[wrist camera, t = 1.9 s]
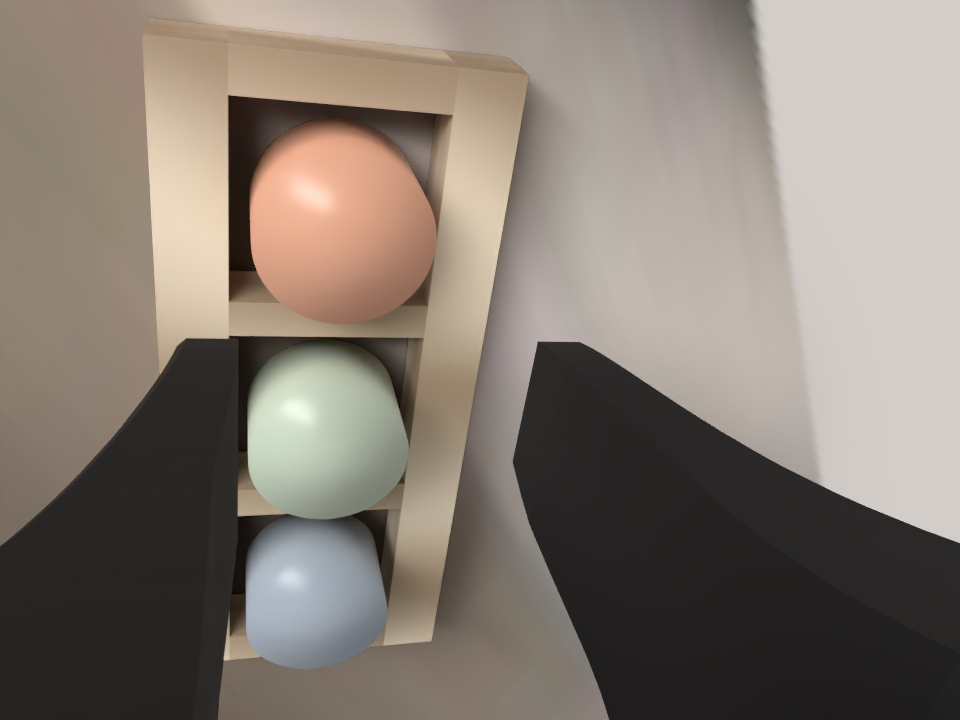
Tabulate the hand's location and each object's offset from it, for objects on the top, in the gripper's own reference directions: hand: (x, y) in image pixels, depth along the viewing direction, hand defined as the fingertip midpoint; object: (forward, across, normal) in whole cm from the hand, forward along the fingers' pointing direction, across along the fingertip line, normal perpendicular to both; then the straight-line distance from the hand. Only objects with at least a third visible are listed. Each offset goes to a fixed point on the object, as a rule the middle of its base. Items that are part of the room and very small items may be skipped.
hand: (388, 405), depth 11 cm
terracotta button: (+8, 0, 0) cm, 8 cm away
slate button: (+8, 0, +10) cm, 13 cm away
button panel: (+8, 0, +5) cm, 10 cm away
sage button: (+8, 0, +5) cm, 10 cm away
